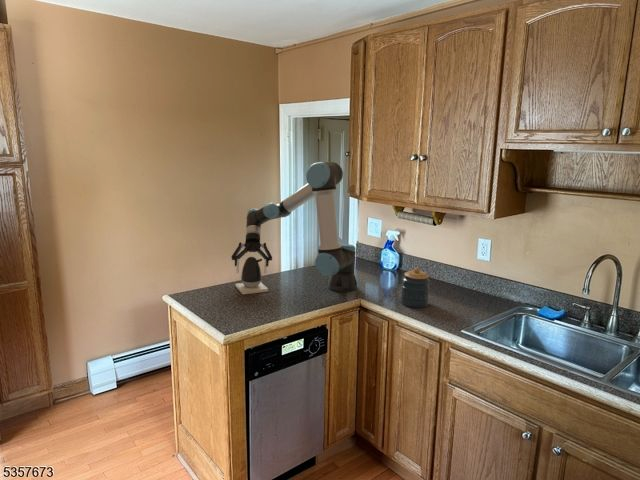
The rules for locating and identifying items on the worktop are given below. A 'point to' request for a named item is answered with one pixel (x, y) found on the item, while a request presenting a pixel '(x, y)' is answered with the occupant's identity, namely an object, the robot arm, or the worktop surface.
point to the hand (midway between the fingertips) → (251, 271)
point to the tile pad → (248, 290)
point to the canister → (415, 289)
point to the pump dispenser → (251, 272)
